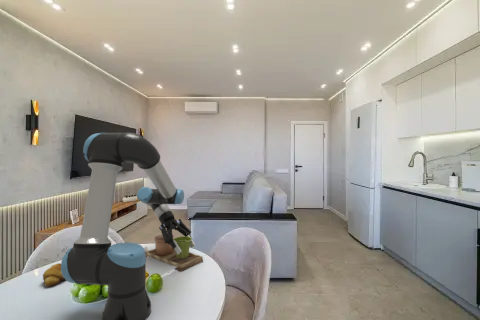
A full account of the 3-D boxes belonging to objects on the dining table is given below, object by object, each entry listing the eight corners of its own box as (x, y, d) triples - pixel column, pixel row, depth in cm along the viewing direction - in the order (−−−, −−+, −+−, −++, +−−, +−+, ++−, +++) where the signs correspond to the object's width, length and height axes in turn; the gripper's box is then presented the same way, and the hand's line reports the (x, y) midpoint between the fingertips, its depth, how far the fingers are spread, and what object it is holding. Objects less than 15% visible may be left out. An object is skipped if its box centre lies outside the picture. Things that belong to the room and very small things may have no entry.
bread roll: (55, 288, 103) (55, 269, 103) (33, 288, 104) (33, 268, 103) (77, 274, 116) (77, 257, 116) (57, 274, 116) (57, 256, 116)
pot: (177, 252, 138) (177, 236, 138) (162, 258, 130) (161, 241, 130) (166, 248, 144) (166, 233, 144) (150, 254, 136) (150, 237, 136)
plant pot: (171, 254, 131) (171, 237, 130) (189, 251, 134) (189, 235, 134) (174, 261, 122) (174, 243, 122) (193, 257, 126) (193, 240, 126)
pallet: (202, 261, 129) (202, 256, 129) (180, 271, 118) (180, 266, 118) (166, 249, 147) (166, 244, 147) (144, 256, 136) (144, 252, 136)
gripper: (176, 215, 145) (197, 247, 137) (144, 223, 127) (166, 261, 119) (182, 206, 143) (204, 239, 135) (151, 214, 124) (174, 252, 116)
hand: (186, 249), depth 127 cm, fingers closed on plant pot, 9 cm apart
